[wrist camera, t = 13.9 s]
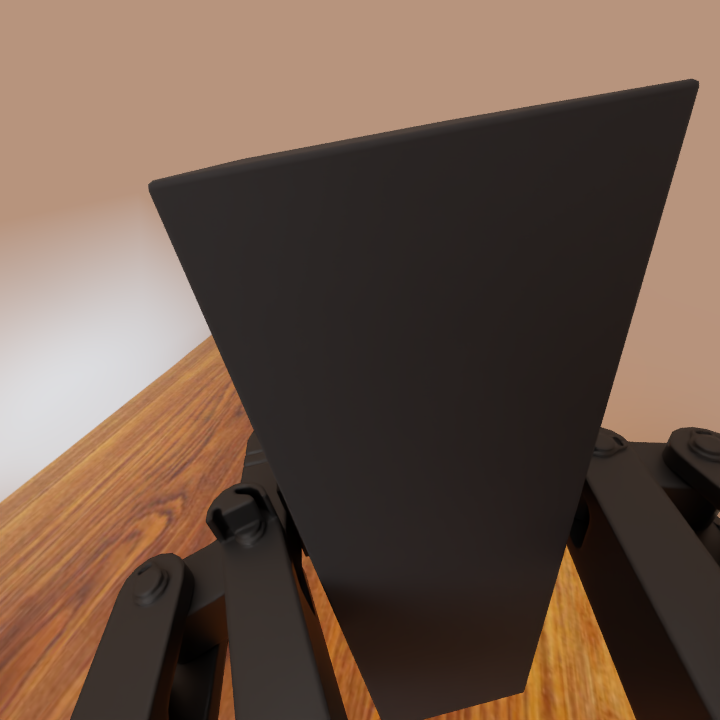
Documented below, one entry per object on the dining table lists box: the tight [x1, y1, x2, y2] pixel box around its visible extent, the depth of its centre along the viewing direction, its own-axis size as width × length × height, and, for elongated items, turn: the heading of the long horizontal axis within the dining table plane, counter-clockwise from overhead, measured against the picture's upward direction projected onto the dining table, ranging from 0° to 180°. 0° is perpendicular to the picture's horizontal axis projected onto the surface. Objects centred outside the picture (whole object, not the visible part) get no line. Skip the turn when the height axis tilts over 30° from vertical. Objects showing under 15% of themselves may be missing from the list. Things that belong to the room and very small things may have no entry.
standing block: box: [148, 79, 699, 720], centre depth 10 cm, size 5×6×17 cm
